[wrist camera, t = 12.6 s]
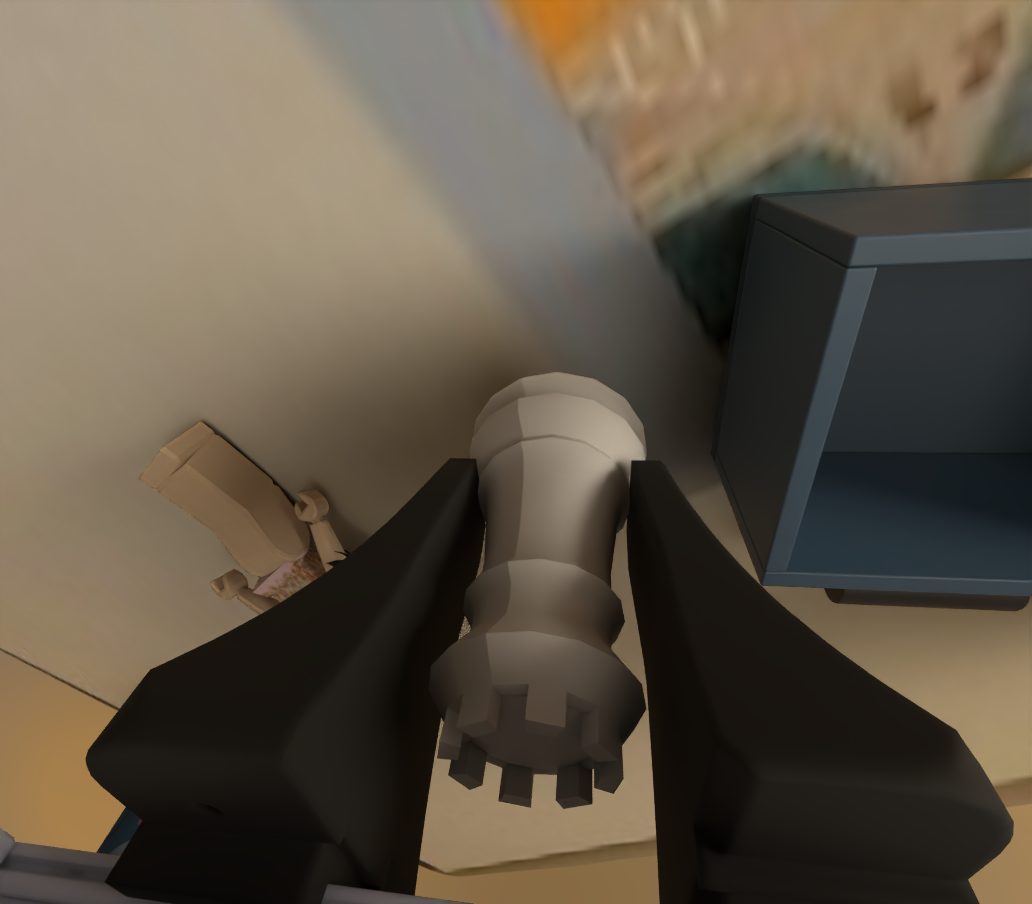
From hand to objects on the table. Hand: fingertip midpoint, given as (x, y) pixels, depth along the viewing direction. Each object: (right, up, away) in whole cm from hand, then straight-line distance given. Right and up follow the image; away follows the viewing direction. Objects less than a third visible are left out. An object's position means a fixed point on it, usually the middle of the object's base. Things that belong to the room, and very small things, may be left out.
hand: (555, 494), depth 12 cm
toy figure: (-10, -4, +12) cm, 16 cm away
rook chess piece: (0, +1, +2) cm, 2 cm away
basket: (+11, +3, +4) cm, 12 cm away
